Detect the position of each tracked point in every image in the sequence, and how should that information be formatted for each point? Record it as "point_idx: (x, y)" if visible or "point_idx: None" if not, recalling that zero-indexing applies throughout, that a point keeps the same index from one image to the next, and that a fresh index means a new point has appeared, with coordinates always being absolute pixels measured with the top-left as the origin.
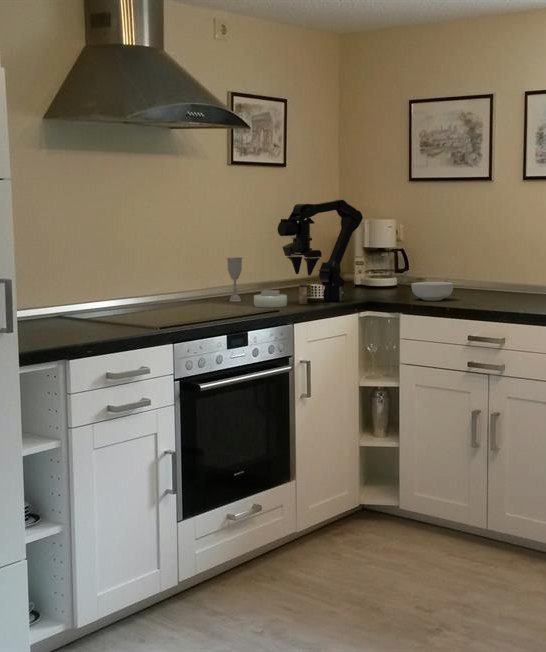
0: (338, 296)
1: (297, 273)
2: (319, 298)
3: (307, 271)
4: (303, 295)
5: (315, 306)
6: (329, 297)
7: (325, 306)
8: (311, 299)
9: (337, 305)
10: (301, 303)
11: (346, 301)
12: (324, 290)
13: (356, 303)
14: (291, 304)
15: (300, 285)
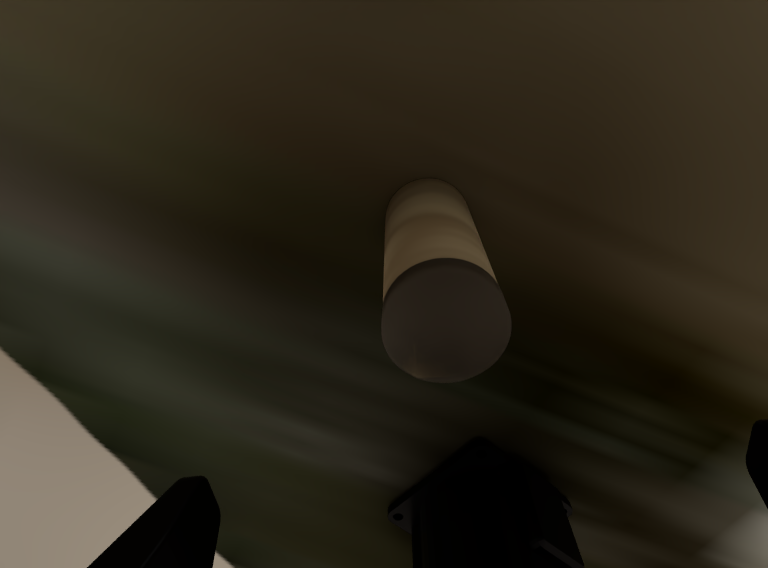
0: (415, 556)
1: (758, 454)
2: (755, 507)
3: (153, 542)
4: (387, 243)
5: (85, 211)
6: (453, 499)
7: (62, 294)
8: (736, 431)
9: (127, 409)
10: (402, 189)
11: (407, 561)
12: (530, 539)
13: (234, 558)
14: (404, 52)
15: (422, 274)
